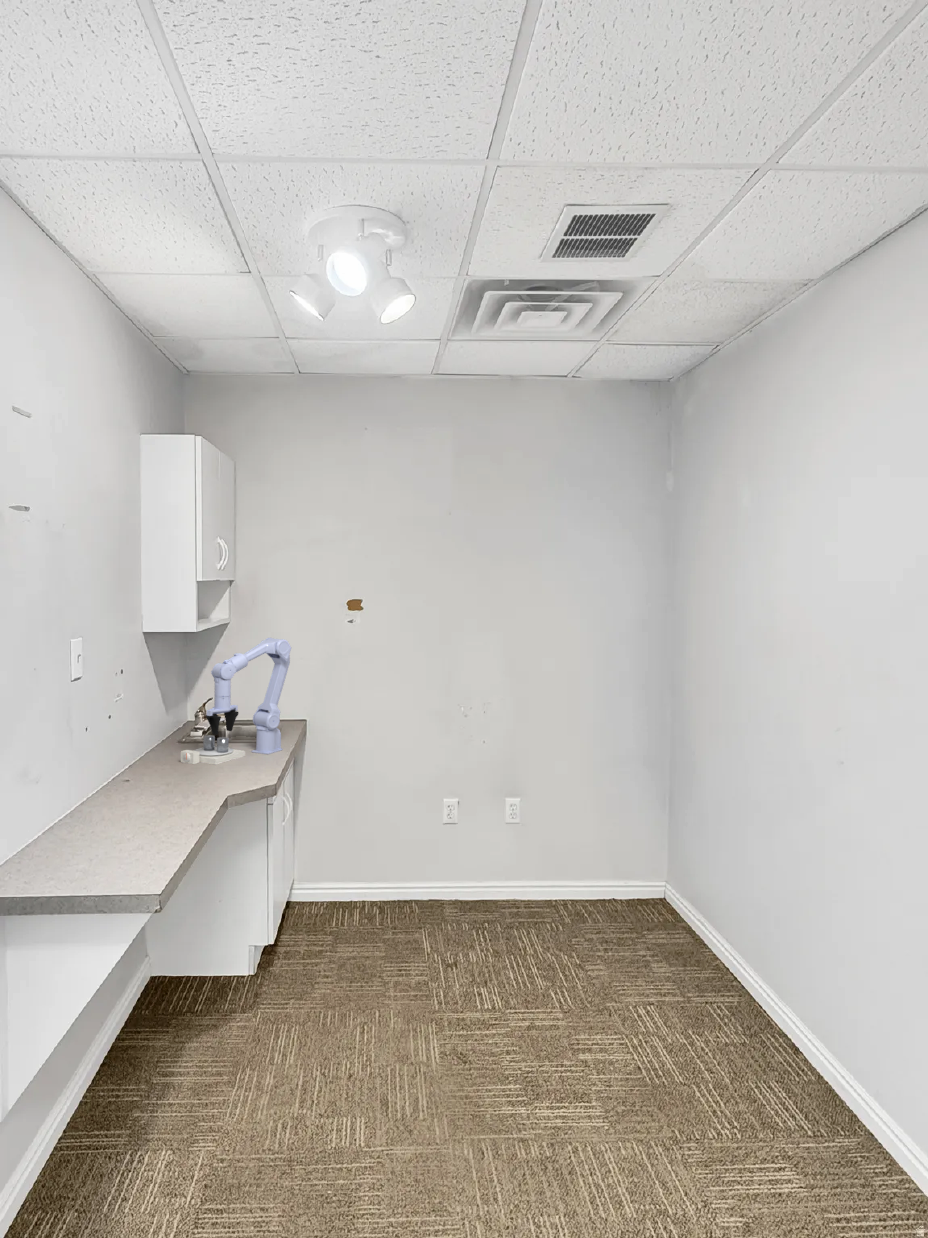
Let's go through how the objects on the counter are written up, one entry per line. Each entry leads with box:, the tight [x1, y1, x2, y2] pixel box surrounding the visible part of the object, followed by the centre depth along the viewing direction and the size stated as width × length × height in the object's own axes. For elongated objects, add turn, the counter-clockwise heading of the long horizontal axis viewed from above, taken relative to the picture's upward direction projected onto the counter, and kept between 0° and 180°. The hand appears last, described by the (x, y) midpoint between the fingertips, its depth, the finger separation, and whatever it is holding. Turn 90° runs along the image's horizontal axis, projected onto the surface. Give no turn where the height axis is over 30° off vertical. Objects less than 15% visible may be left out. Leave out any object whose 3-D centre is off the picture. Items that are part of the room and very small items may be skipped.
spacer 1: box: [202, 734, 216, 751], centre depth 312 cm, size 4×4×5 cm
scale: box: [180, 745, 246, 765], centre depth 309 cm, size 20×16×4 cm
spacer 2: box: [216, 736, 229, 753], centre depth 309 cm, size 4×4×5 cm
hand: (222, 732), depth 309 cm, fingers open, 7 cm apart
